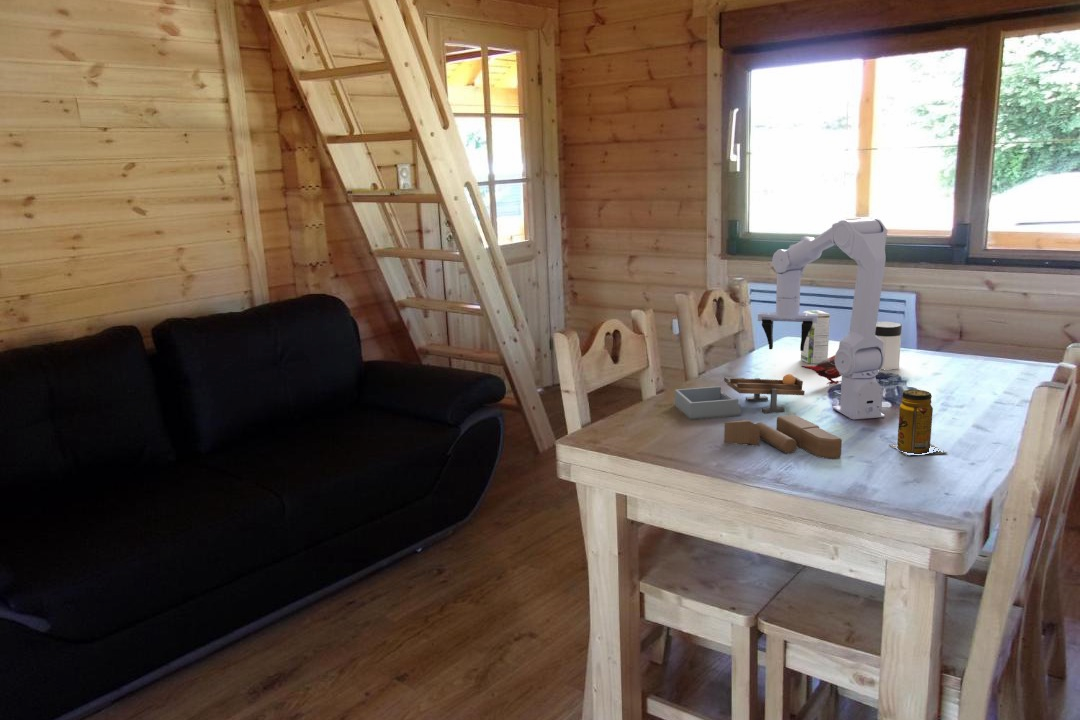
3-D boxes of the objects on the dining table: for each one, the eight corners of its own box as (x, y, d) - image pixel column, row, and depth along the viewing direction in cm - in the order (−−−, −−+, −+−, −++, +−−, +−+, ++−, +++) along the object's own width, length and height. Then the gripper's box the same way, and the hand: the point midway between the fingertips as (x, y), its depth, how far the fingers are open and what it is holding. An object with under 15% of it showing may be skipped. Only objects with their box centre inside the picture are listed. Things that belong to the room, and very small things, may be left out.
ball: (795, 389, 199) (799, 377, 198) (783, 386, 198) (788, 374, 198) (789, 386, 202) (793, 374, 201) (778, 383, 201) (782, 371, 201)
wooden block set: (792, 408, 181) (844, 432, 164) (791, 433, 182) (842, 460, 165) (722, 417, 176) (767, 443, 159) (721, 442, 178) (766, 471, 161)
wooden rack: (783, 383, 208) (784, 371, 207) (804, 395, 197) (805, 382, 196) (722, 381, 206) (723, 369, 205) (739, 393, 194) (741, 380, 194)
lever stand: (765, 398, 206) (765, 377, 205) (784, 411, 195) (785, 389, 194) (745, 400, 206) (746, 378, 204) (764, 413, 195) (765, 390, 193)
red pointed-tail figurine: (859, 382, 218) (861, 344, 216) (803, 390, 212) (805, 352, 210) (851, 379, 221) (853, 342, 218) (796, 388, 215) (797, 350, 212)
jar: (867, 362, 238) (869, 320, 235) (898, 363, 235) (900, 321, 233) (867, 369, 230) (870, 327, 227) (899, 371, 227) (902, 328, 224)
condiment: (888, 445, 171) (892, 388, 168) (927, 442, 172) (932, 386, 169) (907, 457, 164) (911, 398, 161) (948, 454, 165) (952, 395, 162)
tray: (740, 415, 194) (740, 399, 193) (690, 419, 192) (690, 403, 191) (722, 401, 205) (722, 386, 204) (674, 405, 204) (674, 389, 203)
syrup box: (799, 360, 243) (801, 310, 240) (818, 358, 244) (820, 309, 241) (809, 364, 238) (811, 314, 235) (828, 362, 239) (830, 312, 236)
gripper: (819, 294, 212) (817, 347, 216) (760, 293, 218) (759, 344, 221) (817, 299, 206) (815, 353, 209) (757, 298, 211) (755, 350, 214)
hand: (786, 349), depth 215 cm, fingers open, 7 cm apart
